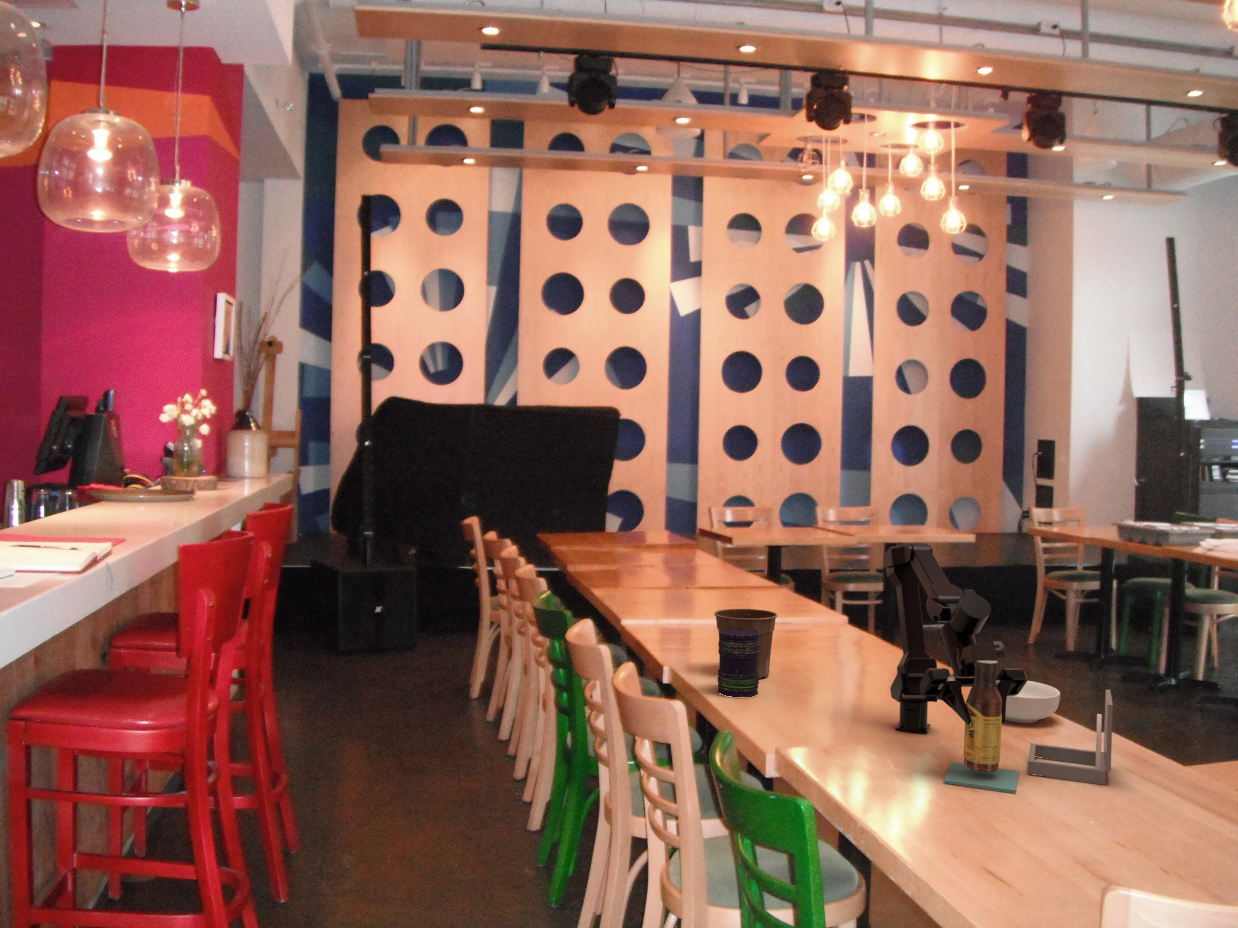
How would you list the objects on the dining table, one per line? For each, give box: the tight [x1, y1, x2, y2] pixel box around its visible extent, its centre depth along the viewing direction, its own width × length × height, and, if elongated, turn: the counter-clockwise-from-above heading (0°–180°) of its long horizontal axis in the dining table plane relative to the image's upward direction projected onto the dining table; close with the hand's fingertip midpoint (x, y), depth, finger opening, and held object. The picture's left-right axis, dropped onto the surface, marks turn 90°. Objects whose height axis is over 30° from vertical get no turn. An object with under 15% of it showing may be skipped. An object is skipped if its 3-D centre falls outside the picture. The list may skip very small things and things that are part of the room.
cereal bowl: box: [1005, 680, 1061, 724], centre depth 233 cm, size 17×17×7 cm
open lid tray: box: [1027, 689, 1114, 786], centre depth 196 cm, size 13×14×14 cm
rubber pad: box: [943, 761, 1020, 794], centre depth 190 cm, size 12×12×1 cm
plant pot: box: [714, 608, 778, 679], centre depth 271 cm, size 16×16×16 cm
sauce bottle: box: [963, 660, 1003, 772], centre depth 190 cm, size 7×6×20 cm
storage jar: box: [717, 628, 760, 698], centre depth 251 cm, size 10×10×15 cm
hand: (986, 723), depth 188 cm, fingers closed on sauce bottle, 6 cm apart
